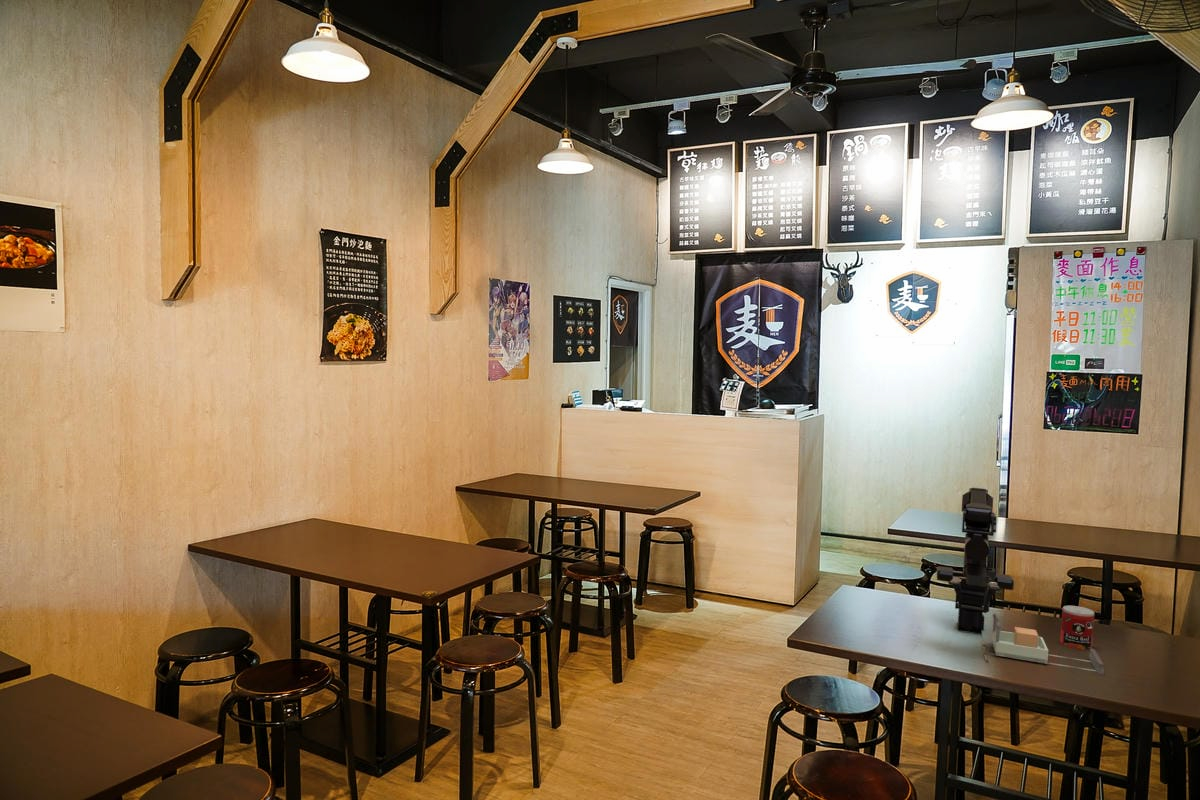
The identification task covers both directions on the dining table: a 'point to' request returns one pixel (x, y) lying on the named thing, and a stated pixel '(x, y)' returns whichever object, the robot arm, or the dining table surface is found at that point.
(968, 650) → the dining table surface
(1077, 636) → the canned food
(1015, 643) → the block
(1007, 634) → the tray with handle
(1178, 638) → the dining table surface
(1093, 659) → the track
